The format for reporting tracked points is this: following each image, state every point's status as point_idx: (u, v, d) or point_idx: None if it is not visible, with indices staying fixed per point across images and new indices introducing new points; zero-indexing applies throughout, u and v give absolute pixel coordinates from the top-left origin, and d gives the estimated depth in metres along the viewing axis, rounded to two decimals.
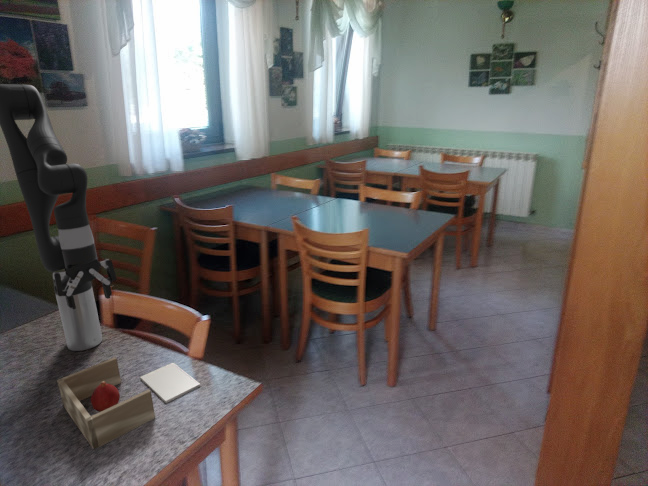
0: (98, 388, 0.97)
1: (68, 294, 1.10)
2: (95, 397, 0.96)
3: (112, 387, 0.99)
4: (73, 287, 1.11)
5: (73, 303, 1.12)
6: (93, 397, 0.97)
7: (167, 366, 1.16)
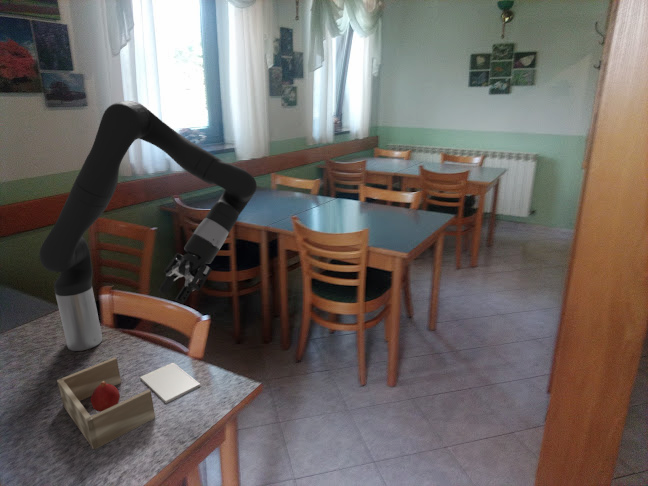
0: (98, 388, 0.97)
1: None
2: (95, 397, 0.96)
3: (112, 387, 0.99)
4: None
5: None
6: (93, 397, 0.97)
7: (167, 366, 1.16)
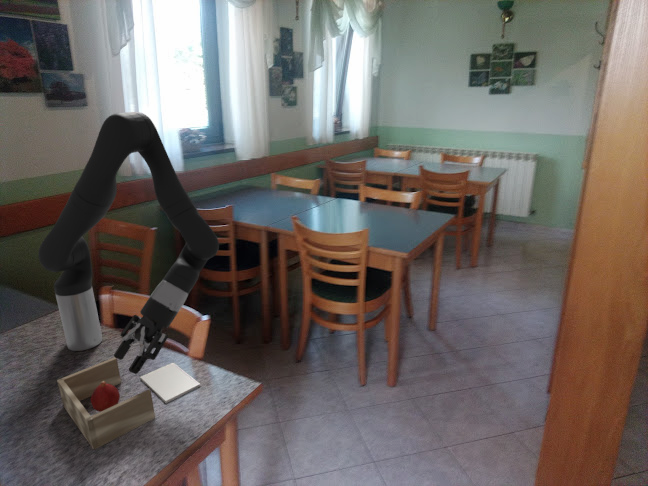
0: (98, 388, 0.97)
1: None
2: (95, 397, 0.96)
3: (112, 387, 0.99)
4: None
5: None
6: (93, 397, 0.97)
7: (167, 366, 1.16)
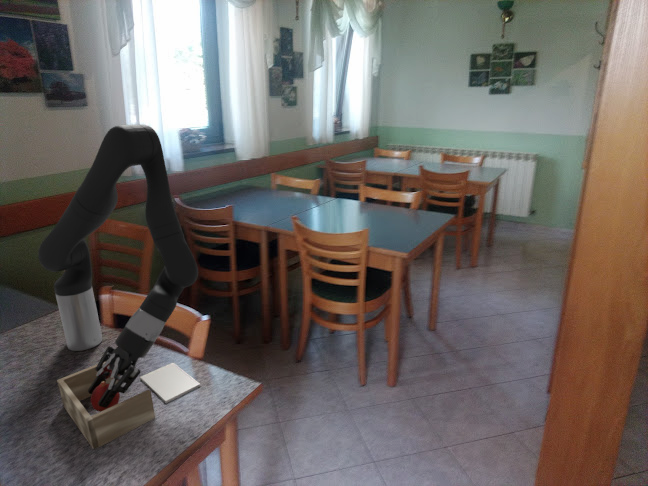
0: (98, 388, 0.97)
1: None
2: (95, 397, 0.96)
3: None
4: None
5: None
6: (93, 397, 0.97)
7: (167, 366, 1.16)
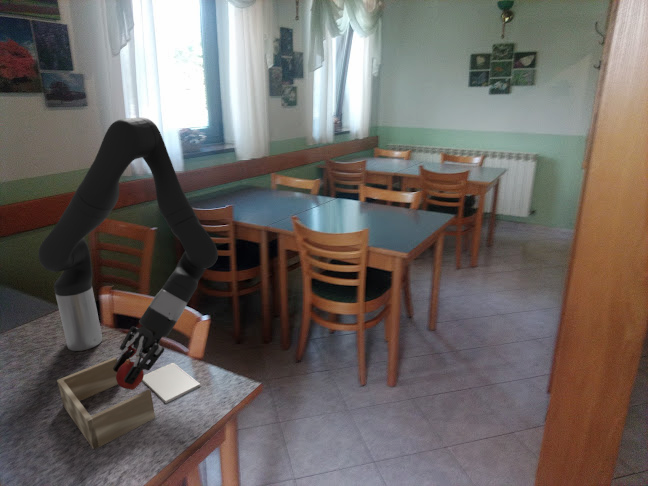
0: (123, 365, 1.00)
1: None
2: (120, 374, 1.00)
3: None
4: None
5: None
6: (118, 374, 1.00)
7: (167, 366, 1.16)
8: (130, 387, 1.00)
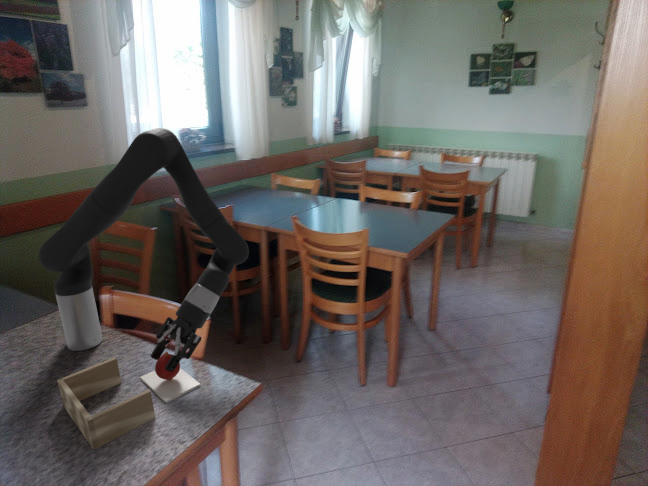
0: (162, 358, 1.07)
1: None
2: (159, 365, 1.06)
3: None
4: None
5: None
6: (157, 366, 1.07)
7: None
8: (168, 378, 1.07)
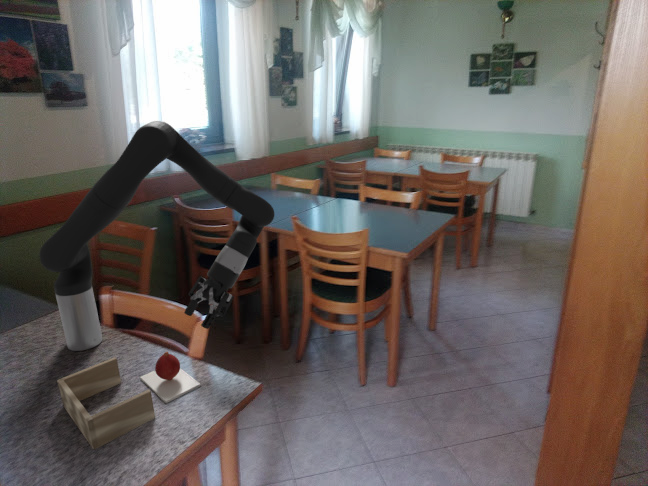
0: (162, 357, 1.07)
1: None
2: (160, 365, 1.07)
3: (174, 356, 1.09)
4: None
5: None
6: (158, 365, 1.07)
7: None
8: (168, 377, 1.07)
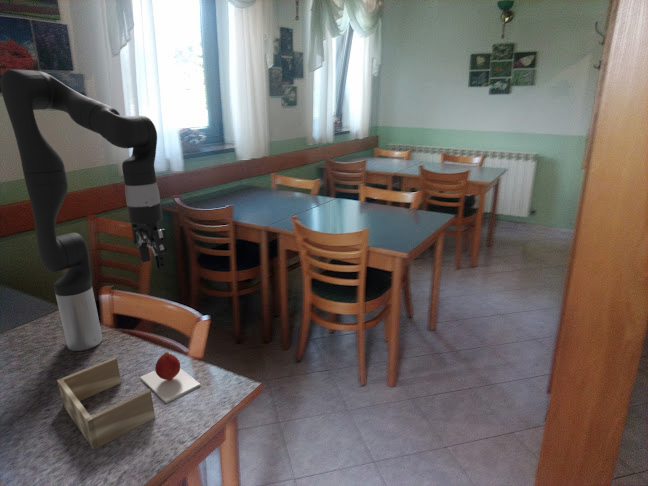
0: (162, 357, 1.07)
1: None
2: (160, 365, 1.07)
3: (174, 356, 1.09)
4: None
5: None
6: (158, 365, 1.07)
7: None
8: (169, 377, 1.07)
